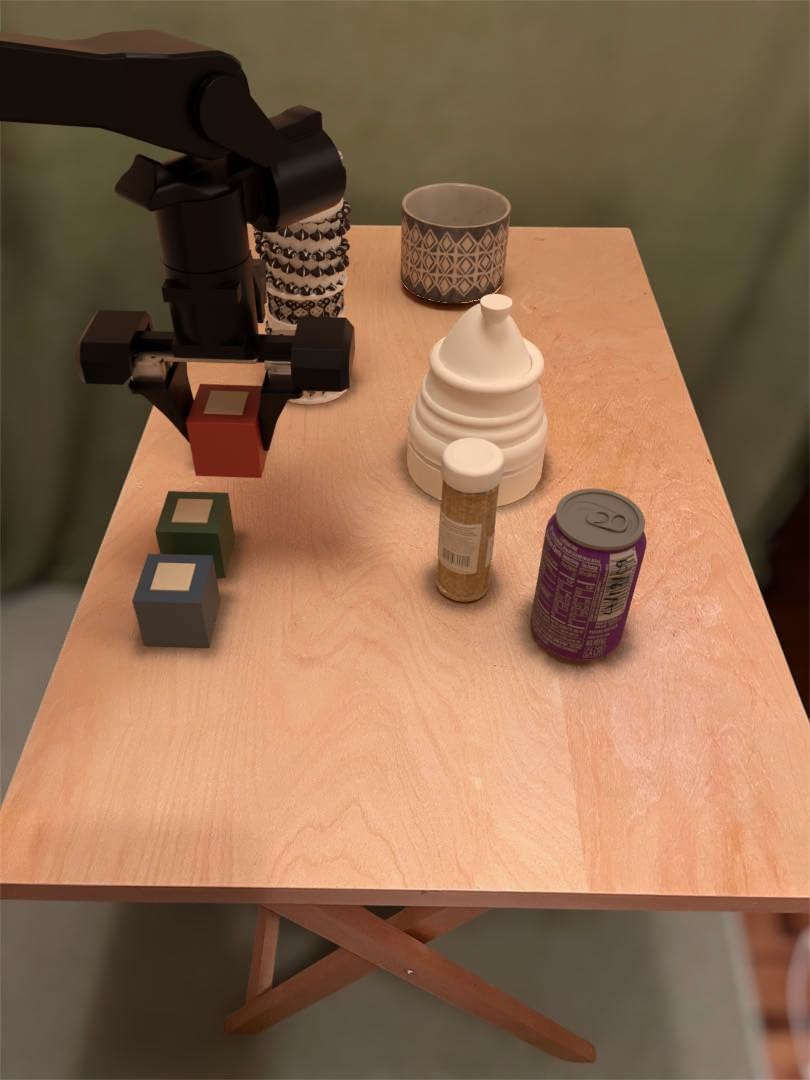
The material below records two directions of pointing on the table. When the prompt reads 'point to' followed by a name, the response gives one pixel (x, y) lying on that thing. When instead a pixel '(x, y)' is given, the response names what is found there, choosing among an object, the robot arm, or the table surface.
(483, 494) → the sprinkles bottle
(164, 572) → the slate block
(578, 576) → the beverage can
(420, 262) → the planter
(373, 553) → the table surface
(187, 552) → the green block
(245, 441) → the red cube
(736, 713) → the table surface
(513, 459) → the honey pot
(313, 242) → the decorative candle
